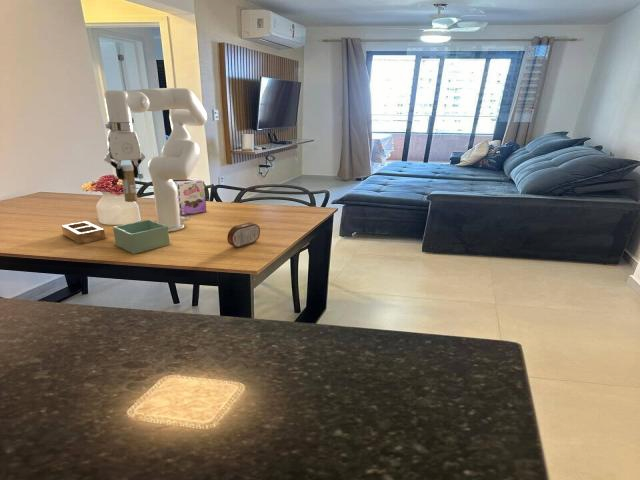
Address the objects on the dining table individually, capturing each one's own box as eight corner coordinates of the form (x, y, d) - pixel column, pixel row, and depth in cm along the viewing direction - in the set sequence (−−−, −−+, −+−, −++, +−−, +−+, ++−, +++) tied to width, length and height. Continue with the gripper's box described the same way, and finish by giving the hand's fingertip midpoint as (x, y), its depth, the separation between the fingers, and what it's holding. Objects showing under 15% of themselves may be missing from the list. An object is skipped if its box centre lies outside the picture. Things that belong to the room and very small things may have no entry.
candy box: (180, 216, 191) (177, 183, 185) (176, 213, 195) (173, 181, 190) (206, 212, 199) (204, 180, 194) (202, 209, 203) (199, 179, 198)
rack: (87, 229, 166) (86, 221, 164) (105, 238, 155) (104, 229, 154) (63, 234, 159) (61, 225, 157) (80, 244, 148) (78, 234, 147)
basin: (151, 236, 159) (148, 219, 157) (169, 244, 150) (167, 226, 148) (115, 245, 148) (112, 226, 146) (133, 253, 140) (131, 234, 137)
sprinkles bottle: (138, 201, 144) (134, 165, 140) (125, 202, 142) (120, 166, 137) (136, 199, 148) (132, 164, 143) (123, 200, 145) (118, 164, 141)
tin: (256, 239, 159) (255, 220, 156) (261, 241, 157) (261, 221, 154) (227, 248, 148) (226, 227, 145) (232, 250, 146) (231, 229, 143)
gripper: (100, 128, 128) (108, 182, 134) (149, 127, 140) (155, 177, 146) (91, 127, 132) (99, 179, 138) (139, 126, 145) (145, 174, 150)
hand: (128, 177), depth 142 cm, fingers closed on sprinkles bottle, 4 cm apart
